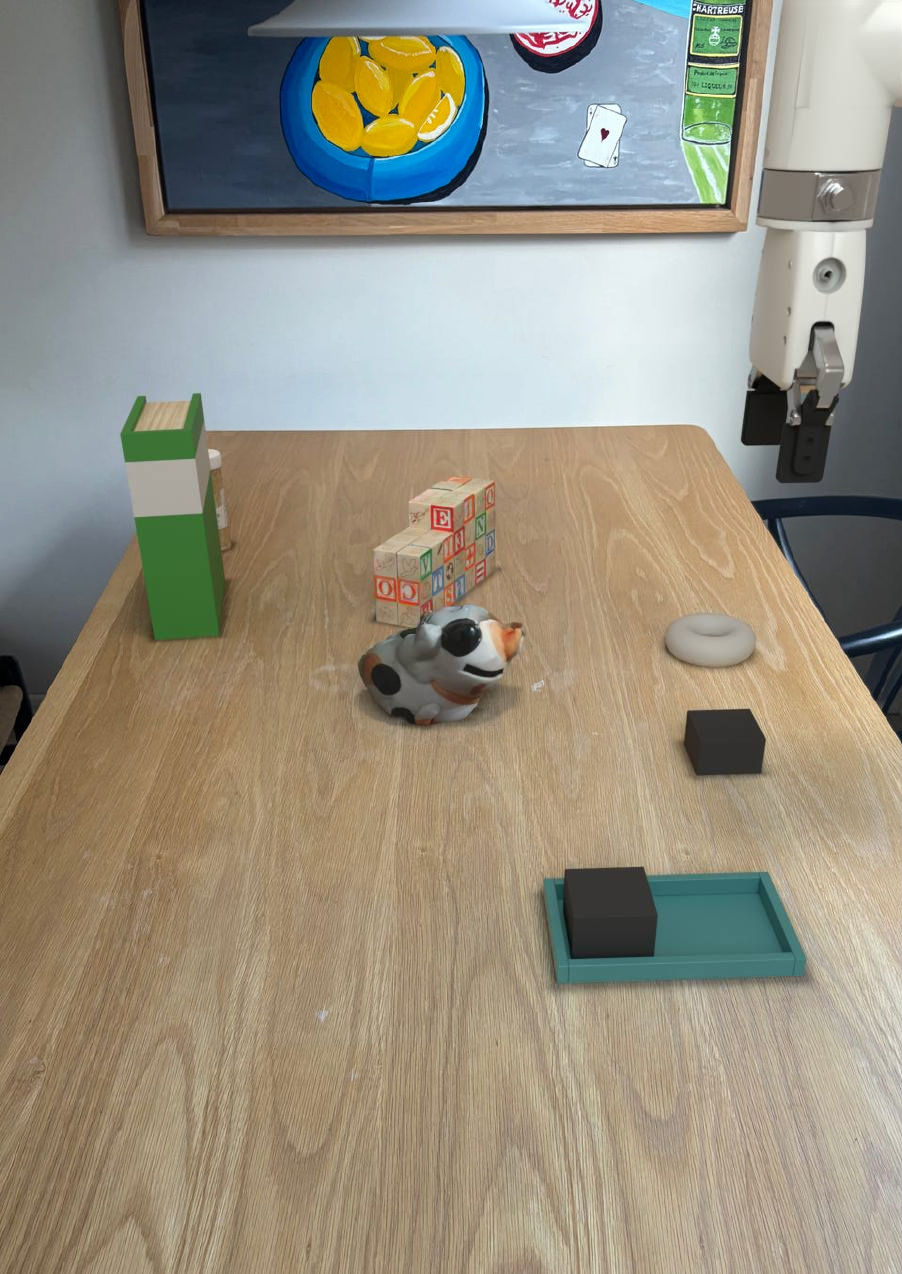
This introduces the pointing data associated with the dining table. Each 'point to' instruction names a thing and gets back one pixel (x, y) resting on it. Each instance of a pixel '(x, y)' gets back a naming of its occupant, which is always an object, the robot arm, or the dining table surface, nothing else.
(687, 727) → the black square block
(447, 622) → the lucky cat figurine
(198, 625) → the hardback book
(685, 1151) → the dining table surface
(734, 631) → the donut
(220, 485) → the sprinkles bottle
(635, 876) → the seated pad
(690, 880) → the tray
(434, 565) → the stack of blocks
